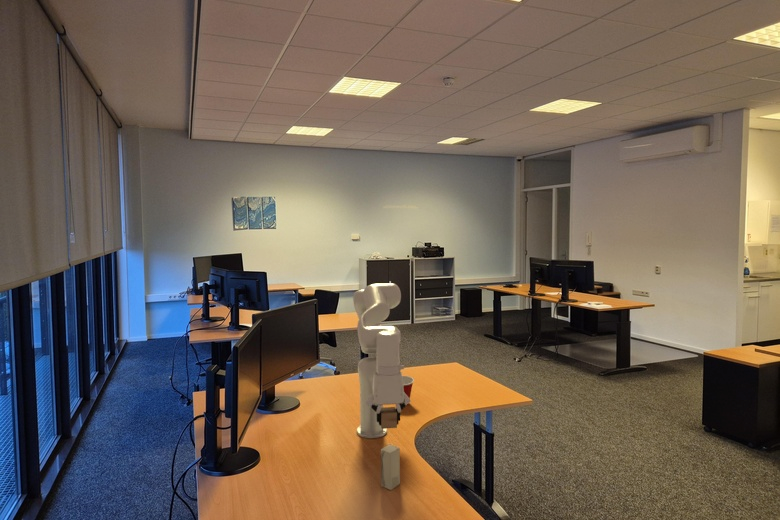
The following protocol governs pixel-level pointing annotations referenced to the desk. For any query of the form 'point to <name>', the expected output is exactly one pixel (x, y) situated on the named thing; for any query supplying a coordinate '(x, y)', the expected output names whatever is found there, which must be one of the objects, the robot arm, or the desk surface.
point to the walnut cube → (388, 417)
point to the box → (390, 466)
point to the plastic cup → (407, 385)
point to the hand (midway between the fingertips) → (388, 422)
